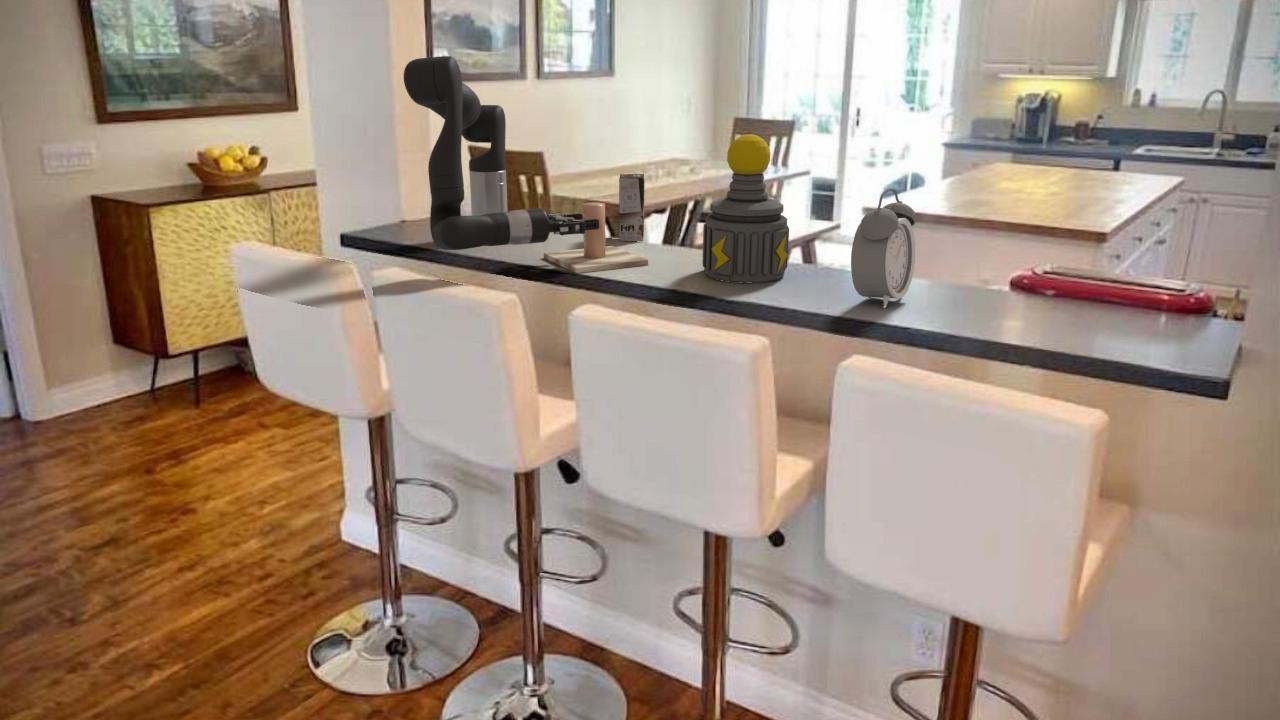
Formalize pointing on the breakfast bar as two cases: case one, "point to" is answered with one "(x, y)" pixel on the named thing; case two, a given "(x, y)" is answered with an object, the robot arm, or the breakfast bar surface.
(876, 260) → the alarm clock
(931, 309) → the breakfast bar surface
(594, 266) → the ash board
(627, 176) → the coffee box
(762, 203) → the decorative lamp
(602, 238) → the terracotta canister
